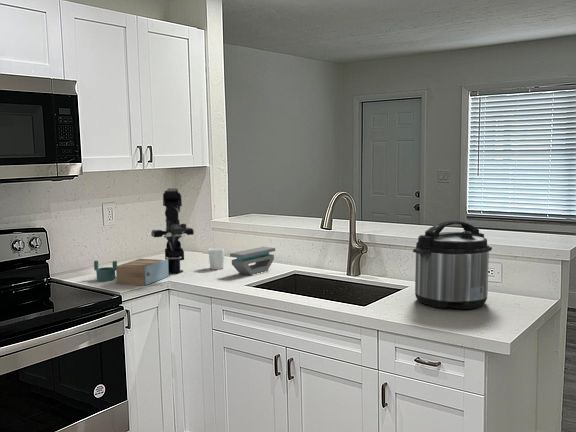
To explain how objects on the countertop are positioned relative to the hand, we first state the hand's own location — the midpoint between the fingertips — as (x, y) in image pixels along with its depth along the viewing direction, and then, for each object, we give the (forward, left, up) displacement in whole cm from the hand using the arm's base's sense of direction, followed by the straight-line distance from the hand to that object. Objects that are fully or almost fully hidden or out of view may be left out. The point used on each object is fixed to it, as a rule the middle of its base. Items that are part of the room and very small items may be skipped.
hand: (173, 250), depth 272 cm
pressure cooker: (+12, +125, -13) cm, 126 cm away
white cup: (-27, +10, -13) cm, 32 cm away
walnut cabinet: (+8, -12, -13) cm, 19 cm away
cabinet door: (+8, -4, -13) cm, 15 cm away
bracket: (+11, -29, -13) cm, 34 cm away
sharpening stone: (-22, +32, -13) cm, 41 cm away
